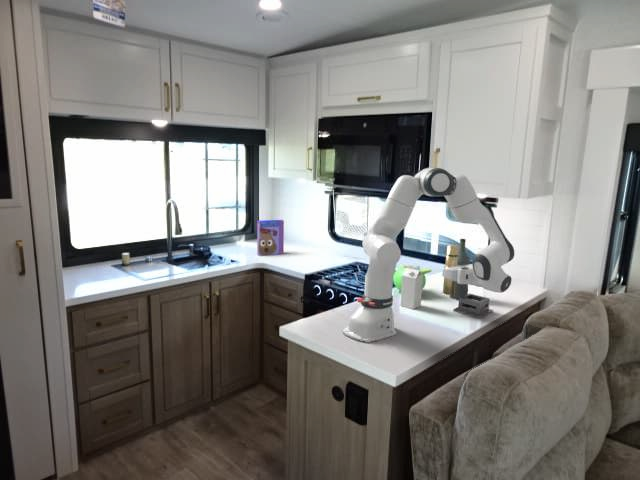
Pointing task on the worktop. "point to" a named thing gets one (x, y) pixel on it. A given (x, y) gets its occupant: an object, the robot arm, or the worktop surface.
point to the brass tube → (450, 262)
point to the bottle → (462, 260)
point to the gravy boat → (399, 272)
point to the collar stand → (473, 306)
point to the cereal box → (270, 237)
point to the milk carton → (411, 287)
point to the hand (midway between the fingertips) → (449, 267)
